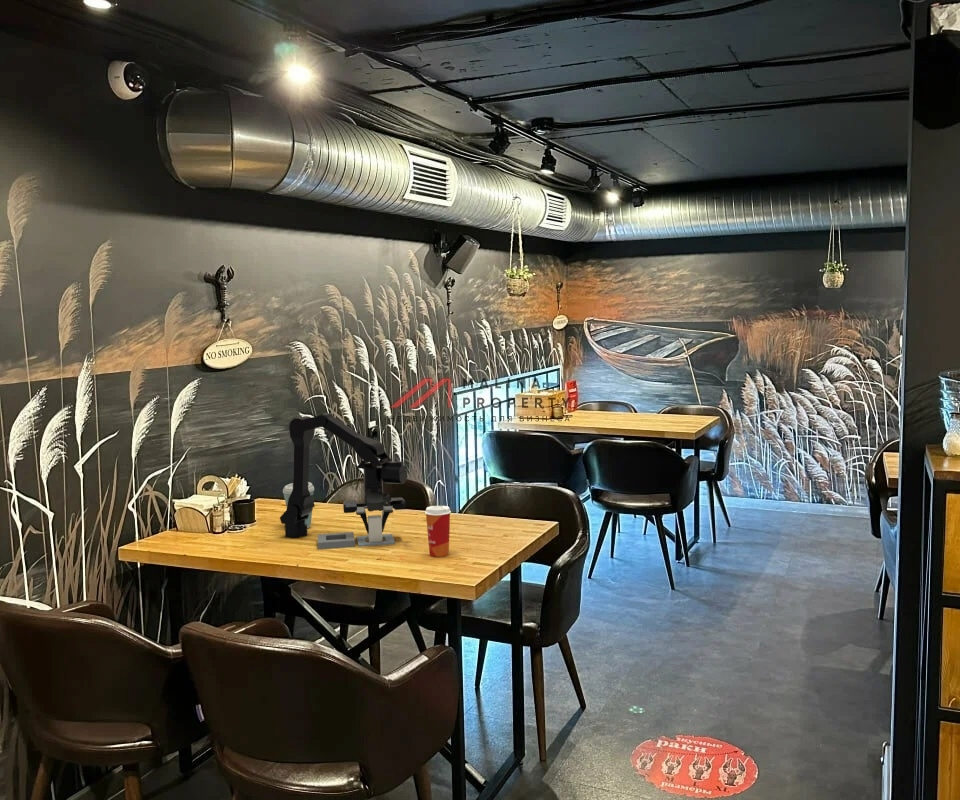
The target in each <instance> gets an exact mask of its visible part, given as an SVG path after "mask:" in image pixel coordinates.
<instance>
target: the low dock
mask: <svg viewBox="0 0 960 800" xmlns="http://www.w3.org/2000/svg"><path fill="white" fill-rule="evenodd" d="M382 539H384V540H382V541H378V542H369V541H367V540H368V535H358V536H356V541H357V542H356V543H357V547H358V548H359V547H360V548H361V547H373V546H388V545H396V541H395V538H394V536H393V533H388V534H387V533H384V534H383V533H382Z"/></svg>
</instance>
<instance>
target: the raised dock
mask: <svg viewBox="0 0 960 800" xmlns="http://www.w3.org/2000/svg"><path fill="white" fill-rule="evenodd" d="M343 548H348V549H349V548H356V538H355V534H354V531H347V532H334V533H330V532H329V533H319V534H317V550H319V551H321V550H330V549H331V550H332V549H343Z"/></svg>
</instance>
